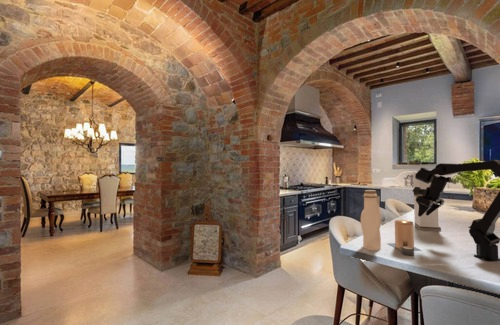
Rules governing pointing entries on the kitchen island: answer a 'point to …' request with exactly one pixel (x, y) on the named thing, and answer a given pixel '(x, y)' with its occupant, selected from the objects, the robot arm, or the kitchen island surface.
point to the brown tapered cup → (404, 233)
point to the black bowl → (407, 250)
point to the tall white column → (425, 221)
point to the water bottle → (371, 221)
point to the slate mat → (400, 250)
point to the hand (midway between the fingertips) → (423, 215)
